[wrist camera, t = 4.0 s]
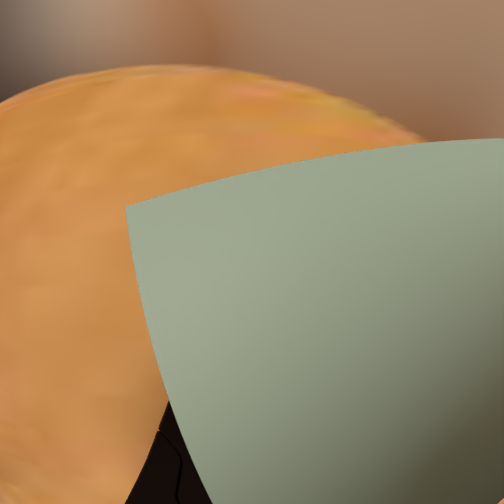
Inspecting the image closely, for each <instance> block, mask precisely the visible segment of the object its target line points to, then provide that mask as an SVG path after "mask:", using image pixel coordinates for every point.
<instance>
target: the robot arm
mask: <svg viewBox="0 0 504 504" xmlns="http://www.w3.org/2000/svg"><path fill="white" fill-rule="evenodd" d="M158 429H159V430H160V431H157V433H156V436H155V439H154V441H153V444H152V447H151V449H150V452H149V454H148V457H147V459H146V462H145V464H144V466H143V468H142V470H141V472H140V474H139V476H138V479H137V481H136V483H135V484H134V486H133V488H132V490H131V492H130V494H129V496H128V498H127V500H126V502H125V504H213V503H212V501H211V499H210V497H209V495H208V493H207V491H206V489H205V487H204V485H203V483H202V481H201V479H200V476H199V474H198V472H197V470H196V468H195V465H194V463H193V461H192V458H191V456H190V454H189V451H188V449H187V446H186V444H185V441H184V439H183V436H182V434H181V431H180V429H179V426H178V423H177V421H176V418H175V415H174V412H173V410H172V407H171V404H170V401H168V404H167V406H166V409H165V412H164V414H163V417H162V420H161V423H160V425H159V428H158Z"/></svg>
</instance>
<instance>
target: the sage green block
mask: <svg viewBox="0 0 504 504" xmlns="http://www.w3.org/2000/svg"><path fill="white" fill-rule="evenodd" d="M125 211H126V219H127V226H128V233H129V239H130V245H131V251H132V257H133V263H134V268H135V273H136V278H137V283H138V288H139V293H140V297H141V302H142V306H143V311H144V315H145V319H146V323H147V327H148V331H149V335H150V338H151V342H152V346H153V349H154V353H155V357H156V360H157V363H158V367H159V370H160V373H161V377H162V380H163V383H164V386H165V389H166V392H167V395H168V398H169V401H170V404H171V407H172V410H173V412H174V415H175V418H176V421H177V423H178V426H179V429H180V431H181V434H182V436H183V439H184V441H185V444H186V446H187V449H188V451H189V454H190V456H191V458H192V461H193V463H194V465H195V468H196V470H197V472H198V474H199V476H200V479H201V481H202V483H203V485H204V487H205V489H206V491H207V493H208V495H209V497H210V499H211V501H212V503H213V504H497V503H498V502H500V501H501V500H502V499H503V498H504V139H503V138H500V139H473V140H455V141H441V142H430V143H419V144H410V145H401V146H393V147H385V148H377V149H370V150H363V151H356V152H350V153H344V154H338V155H332V156H326V157H320V158H315V159H310V160H304V161H299V162H294V163H289V164H284V165H280V166H275V167H270V168H266V169H261V170H257V171H252V172H248V173H244V174H240V175H236V176H231V177H227V178H223V179H219V180H216V181H212V182H208V183H204V184H200V185H197V186H193V187H189V188H186V189H182V190H179V191H175V192H172V193H168V194H165V195H162V196H158V197H155V198H152V199H149V200H145V201H142V202H139V203H136V204H133V205H130V206H127V207H125Z"/></svg>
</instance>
